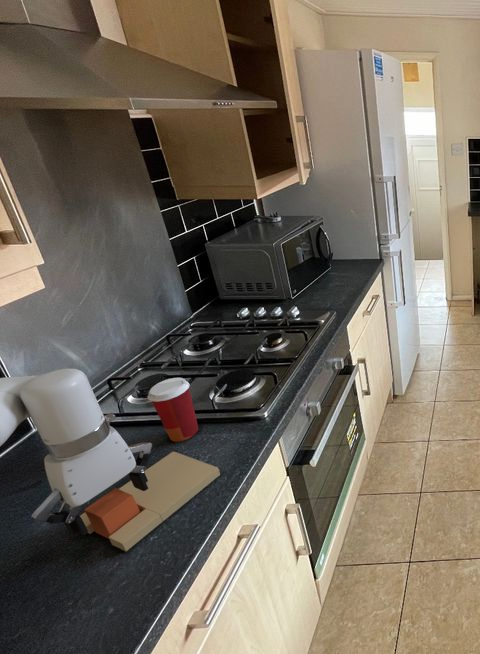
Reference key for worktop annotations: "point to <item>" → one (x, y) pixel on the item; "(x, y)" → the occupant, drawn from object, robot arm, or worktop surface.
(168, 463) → the base pad
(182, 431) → the paper cup
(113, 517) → the orange block
